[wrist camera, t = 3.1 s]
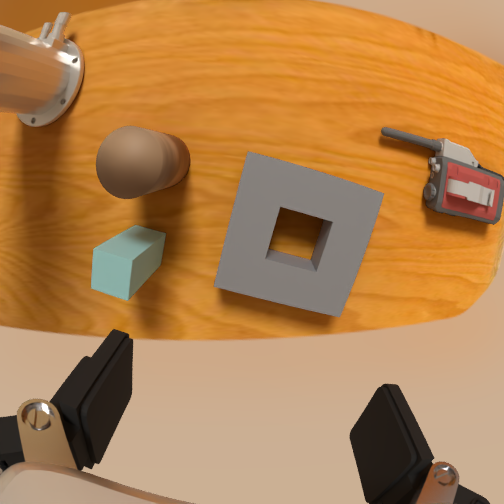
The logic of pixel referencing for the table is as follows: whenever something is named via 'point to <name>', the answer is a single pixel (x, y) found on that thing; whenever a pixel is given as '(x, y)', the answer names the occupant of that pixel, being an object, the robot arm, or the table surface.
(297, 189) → the socket block
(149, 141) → the round plug
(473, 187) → the walkie-talkie
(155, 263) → the square peg
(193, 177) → the table surface
